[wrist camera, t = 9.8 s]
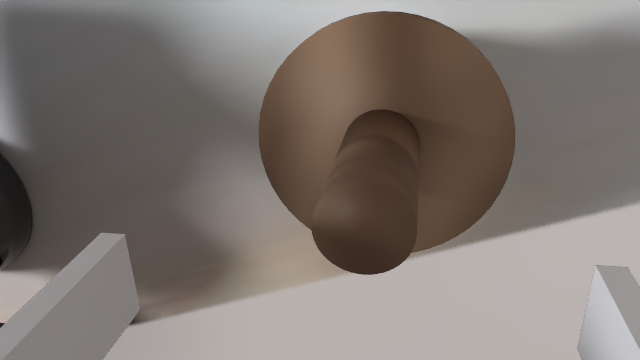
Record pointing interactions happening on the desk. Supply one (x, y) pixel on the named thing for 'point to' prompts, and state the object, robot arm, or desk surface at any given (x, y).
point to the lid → (386, 137)
